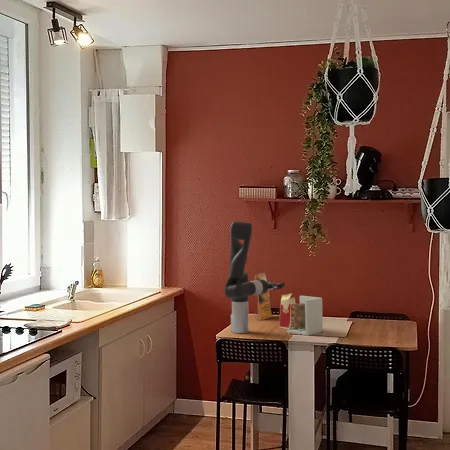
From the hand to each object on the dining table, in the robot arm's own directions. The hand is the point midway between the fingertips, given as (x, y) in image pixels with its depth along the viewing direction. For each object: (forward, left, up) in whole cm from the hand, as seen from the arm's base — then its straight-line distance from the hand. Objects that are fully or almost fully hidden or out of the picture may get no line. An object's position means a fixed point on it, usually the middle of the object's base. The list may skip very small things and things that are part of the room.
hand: (278, 283), depth 381 cm
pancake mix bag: (-48, +39, -29) cm, 68 cm away
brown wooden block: (-1, +20, -27) cm, 34 cm away
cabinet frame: (+2, +19, -29) cm, 34 cm away
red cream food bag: (-15, +25, -29) cm, 41 cm away
